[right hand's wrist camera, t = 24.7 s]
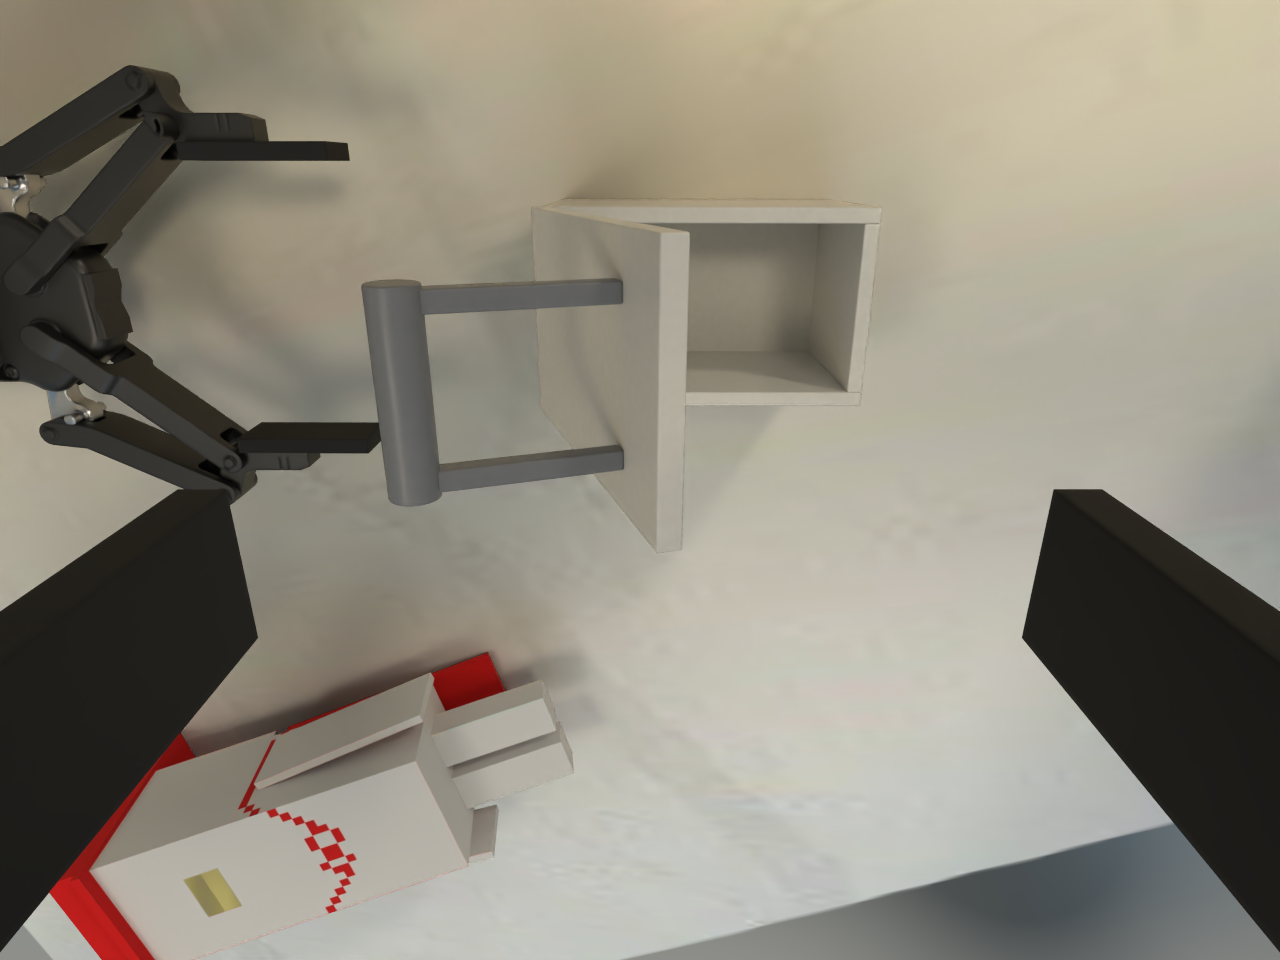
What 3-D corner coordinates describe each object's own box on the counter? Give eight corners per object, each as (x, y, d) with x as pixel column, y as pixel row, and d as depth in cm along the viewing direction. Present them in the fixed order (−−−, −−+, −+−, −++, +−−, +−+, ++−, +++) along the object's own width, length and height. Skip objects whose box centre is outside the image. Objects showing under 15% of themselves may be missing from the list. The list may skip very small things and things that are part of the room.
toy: (591, 855, 48) (127, 1013, 48) (579, 723, 61) (212, 846, 60) (526, 702, 44) (16, 873, 43) (527, 593, 57) (131, 724, 56)
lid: (691, 231, 20) (354, 239, 17) (682, 550, 23) (400, 595, 21) (549, 206, 34) (352, 209, 31) (557, 408, 37) (380, 424, 35)
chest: (830, 199, 43) (882, 207, 34) (816, 360, 47) (860, 406, 37) (562, 198, 43) (541, 206, 34) (567, 359, 47) (550, 405, 37)
